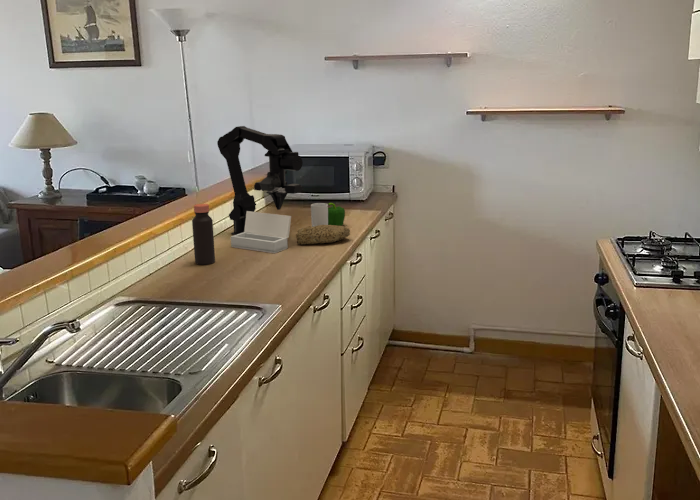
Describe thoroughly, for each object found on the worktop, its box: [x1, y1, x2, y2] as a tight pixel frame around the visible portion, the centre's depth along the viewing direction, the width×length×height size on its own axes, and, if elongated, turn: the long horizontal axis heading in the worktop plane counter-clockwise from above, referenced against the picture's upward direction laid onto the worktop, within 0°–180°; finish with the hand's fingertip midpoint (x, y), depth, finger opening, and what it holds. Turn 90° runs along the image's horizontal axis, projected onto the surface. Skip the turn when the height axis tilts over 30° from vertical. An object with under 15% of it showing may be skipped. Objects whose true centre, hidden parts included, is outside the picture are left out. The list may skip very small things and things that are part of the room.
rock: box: [295, 225, 351, 246], centre depth 264 cm, size 13×8×20 cm
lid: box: [244, 211, 292, 239], centre depth 260 cm, size 20×8×1 cm
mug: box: [310, 202, 329, 227], centre depth 277 cm, size 10×7×12 cm, turn 166°
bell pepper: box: [328, 202, 346, 226], centre depth 290 cm, size 8×8×10 cm
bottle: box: [191, 203, 216, 266], centre depth 236 cm, size 7×7×20 cm
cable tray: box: [230, 232, 289, 254], centre depth 257 cm, size 20×8×4 cm, turn 60°
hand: (278, 209), depth 266 cm, fingers closed
